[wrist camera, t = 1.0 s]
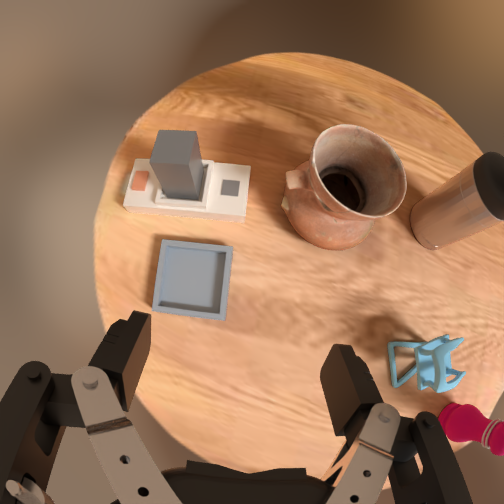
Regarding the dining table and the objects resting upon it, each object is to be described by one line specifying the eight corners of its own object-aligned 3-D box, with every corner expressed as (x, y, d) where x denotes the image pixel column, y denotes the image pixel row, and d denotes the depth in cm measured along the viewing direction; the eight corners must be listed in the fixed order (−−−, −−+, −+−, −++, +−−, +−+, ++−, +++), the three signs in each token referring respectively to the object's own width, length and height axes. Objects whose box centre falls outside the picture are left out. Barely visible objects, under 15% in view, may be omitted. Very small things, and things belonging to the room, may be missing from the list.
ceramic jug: (277, 258, 41) (301, 230, 27) (267, 168, 44) (282, 111, 30) (385, 250, 43) (439, 225, 29) (368, 169, 46) (408, 125, 32)
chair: (430, 370, 39) (477, 379, 27) (391, 387, 38) (436, 403, 26) (425, 328, 40) (474, 327, 28) (386, 342, 39) (433, 347, 28)
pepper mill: (430, 437, 35) (502, 471, 16) (440, 402, 37) (520, 424, 18) (455, 432, 36) (525, 457, 16) (464, 398, 37) (540, 414, 18)
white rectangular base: (249, 175, 44) (251, 161, 40) (244, 223, 42) (245, 213, 38) (140, 167, 43) (133, 154, 39) (129, 212, 41) (119, 202, 37)
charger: (203, 171, 40) (196, 130, 31) (198, 200, 39) (188, 164, 30) (173, 169, 40) (159, 129, 30) (167, 197, 39) (149, 162, 29)
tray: (165, 242, 41) (162, 239, 39) (233, 250, 41) (233, 246, 39) (155, 311, 38) (151, 310, 36) (225, 320, 39) (225, 320, 37)
